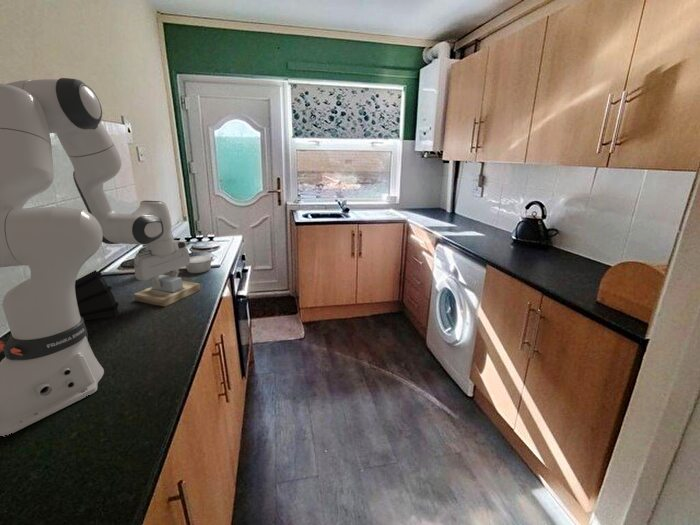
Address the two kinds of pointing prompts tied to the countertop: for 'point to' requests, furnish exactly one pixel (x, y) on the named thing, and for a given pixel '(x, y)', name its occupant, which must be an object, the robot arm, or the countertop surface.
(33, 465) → the countertop surface
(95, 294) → the black ridged block
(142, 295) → the board
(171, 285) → the block
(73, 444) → the countertop surface
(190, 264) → the ramekin
